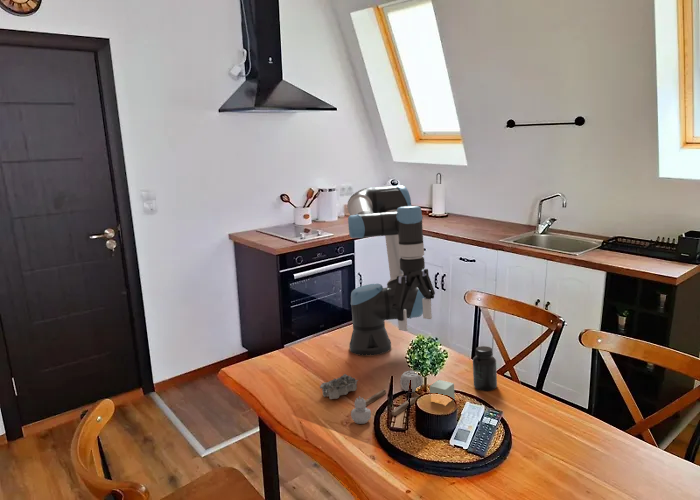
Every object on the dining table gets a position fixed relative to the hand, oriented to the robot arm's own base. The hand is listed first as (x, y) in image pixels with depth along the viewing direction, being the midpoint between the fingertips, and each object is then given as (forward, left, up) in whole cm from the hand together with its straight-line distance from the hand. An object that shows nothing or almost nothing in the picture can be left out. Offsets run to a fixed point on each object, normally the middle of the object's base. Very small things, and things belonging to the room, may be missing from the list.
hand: (415, 324), depth 155 cm
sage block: (+7, +13, -19) cm, 24 cm away
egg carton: (+19, -14, -20) cm, 31 cm away
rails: (+17, +1, -19) cm, 26 cm away
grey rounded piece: (+29, 0, -19) cm, 35 cm away
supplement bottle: (-8, +19, -19) cm, 28 cm away
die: (+5, +1, -19) cm, 20 cm away
